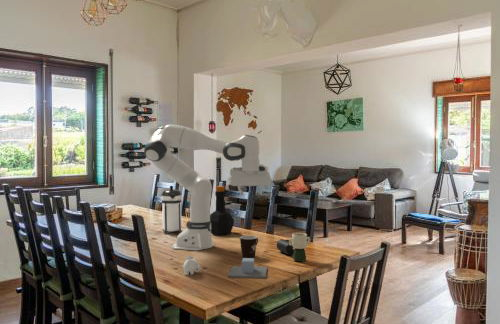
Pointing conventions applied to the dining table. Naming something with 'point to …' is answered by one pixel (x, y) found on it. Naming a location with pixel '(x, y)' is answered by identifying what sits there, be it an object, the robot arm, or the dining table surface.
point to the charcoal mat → (237, 273)
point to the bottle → (221, 215)
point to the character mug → (299, 245)
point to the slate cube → (247, 265)
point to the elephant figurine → (190, 265)
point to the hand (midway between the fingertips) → (250, 194)
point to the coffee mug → (248, 246)
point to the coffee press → (171, 210)
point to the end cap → (285, 247)
